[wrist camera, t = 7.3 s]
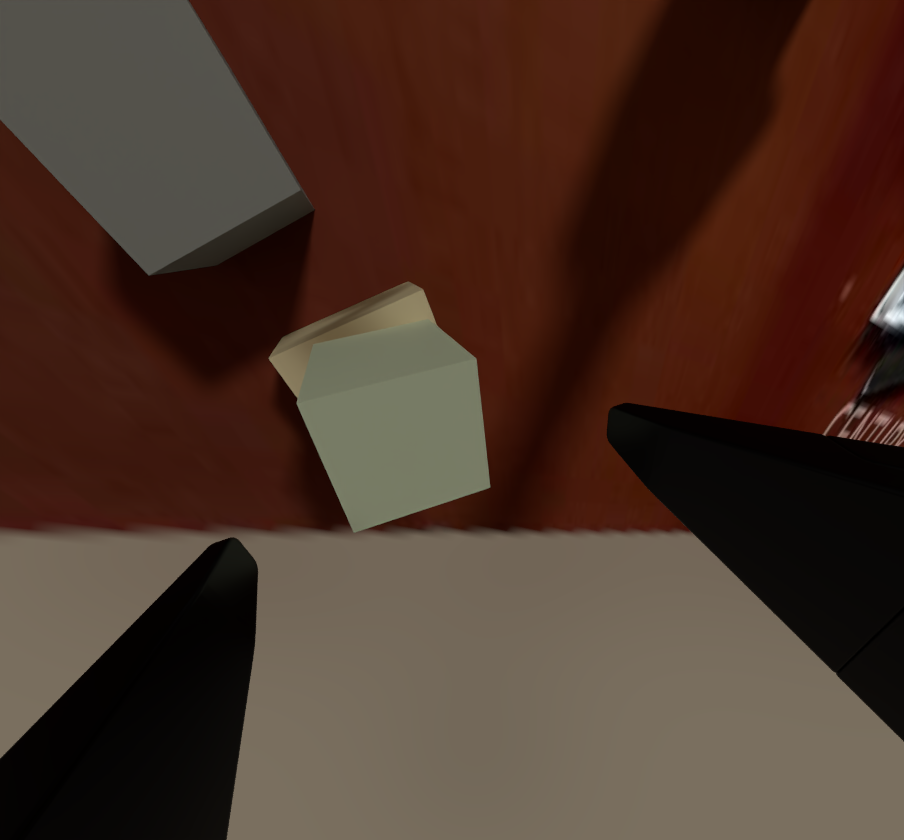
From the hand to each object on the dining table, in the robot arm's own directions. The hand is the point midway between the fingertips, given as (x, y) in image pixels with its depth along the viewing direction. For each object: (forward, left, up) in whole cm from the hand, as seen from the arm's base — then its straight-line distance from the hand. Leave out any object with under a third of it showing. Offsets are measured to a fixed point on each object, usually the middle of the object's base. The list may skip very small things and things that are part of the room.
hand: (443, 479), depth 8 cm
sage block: (+1, +1, -9) cm, 9 cm away
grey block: (+4, -8, -12) cm, 16 cm away
